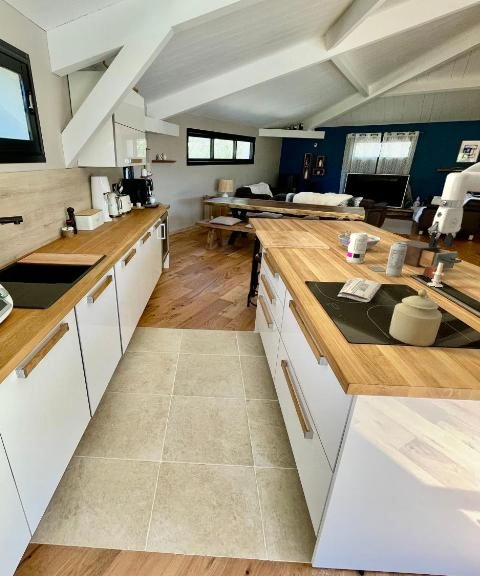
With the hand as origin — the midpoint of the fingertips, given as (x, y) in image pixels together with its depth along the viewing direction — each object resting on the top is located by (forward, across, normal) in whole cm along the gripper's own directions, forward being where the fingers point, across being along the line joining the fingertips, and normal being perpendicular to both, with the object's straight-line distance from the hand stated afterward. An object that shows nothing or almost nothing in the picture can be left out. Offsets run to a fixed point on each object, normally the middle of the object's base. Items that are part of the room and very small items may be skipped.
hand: (439, 246), depth 134 cm
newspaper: (+14, -43, -5) cm, 46 cm away
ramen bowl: (+14, +6, +53) cm, 55 cm away
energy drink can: (+14, -14, +7) cm, 21 cm away
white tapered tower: (+14, -9, -9) cm, 19 cm away
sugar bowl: (+14, -54, -38) cm, 68 cm away
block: (+14, 0, 0) cm, 14 cm away
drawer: (+13, +13, +9) cm, 21 cm away
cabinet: (+14, +13, +21) cm, 28 cm away
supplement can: (+14, -15, +30) cm, 36 cm away
